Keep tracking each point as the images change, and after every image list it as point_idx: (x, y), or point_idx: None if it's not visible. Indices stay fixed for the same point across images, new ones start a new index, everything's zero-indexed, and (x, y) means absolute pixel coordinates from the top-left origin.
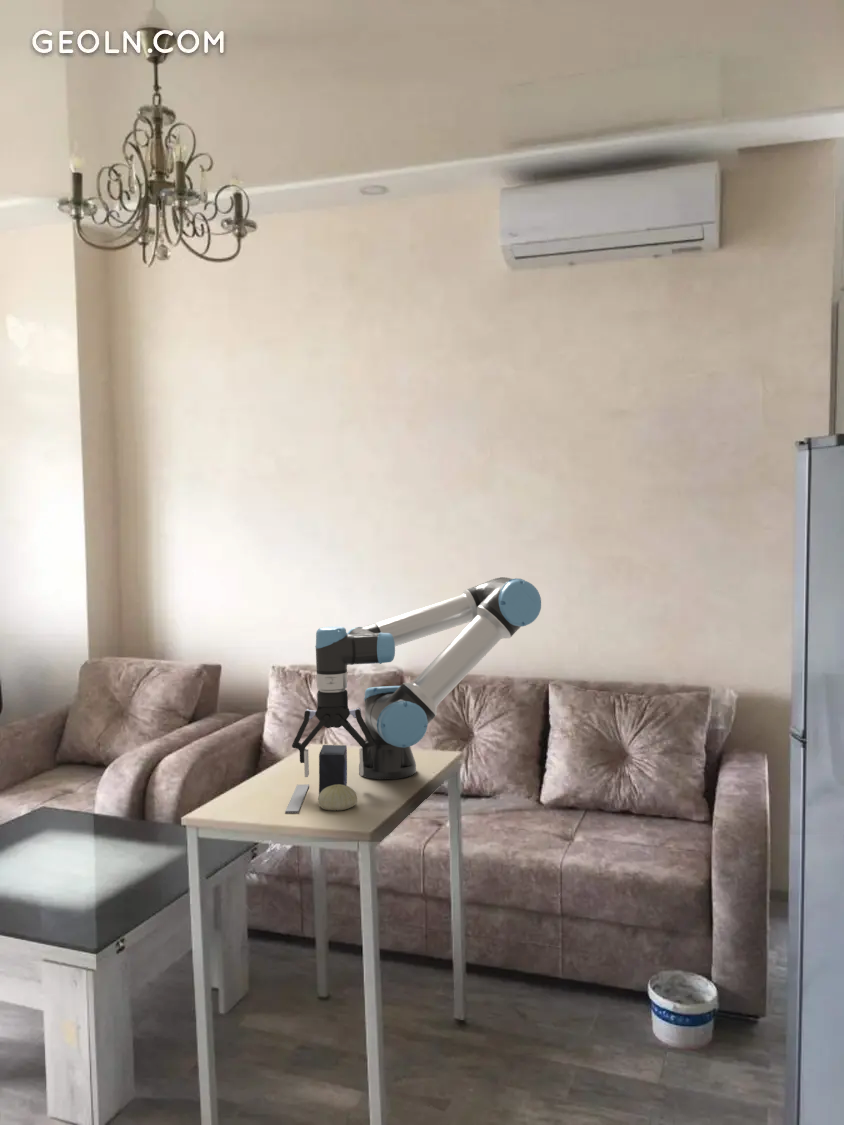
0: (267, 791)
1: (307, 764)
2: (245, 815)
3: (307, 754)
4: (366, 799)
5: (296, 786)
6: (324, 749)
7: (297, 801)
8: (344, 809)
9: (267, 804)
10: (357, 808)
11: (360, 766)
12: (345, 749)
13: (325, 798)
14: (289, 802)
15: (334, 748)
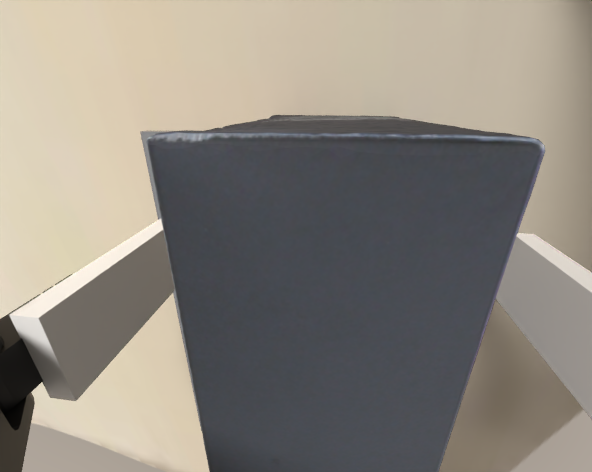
0: (53, 201)
1: (151, 312)
2: (109, 418)
3: (98, 348)
4: None
5: (148, 168)
6: (227, 393)
7: None
8: None
9: (125, 349)
10: None
11: (529, 336)
12: (473, 359)
13: None
14: (189, 368)
15: (336, 373)
